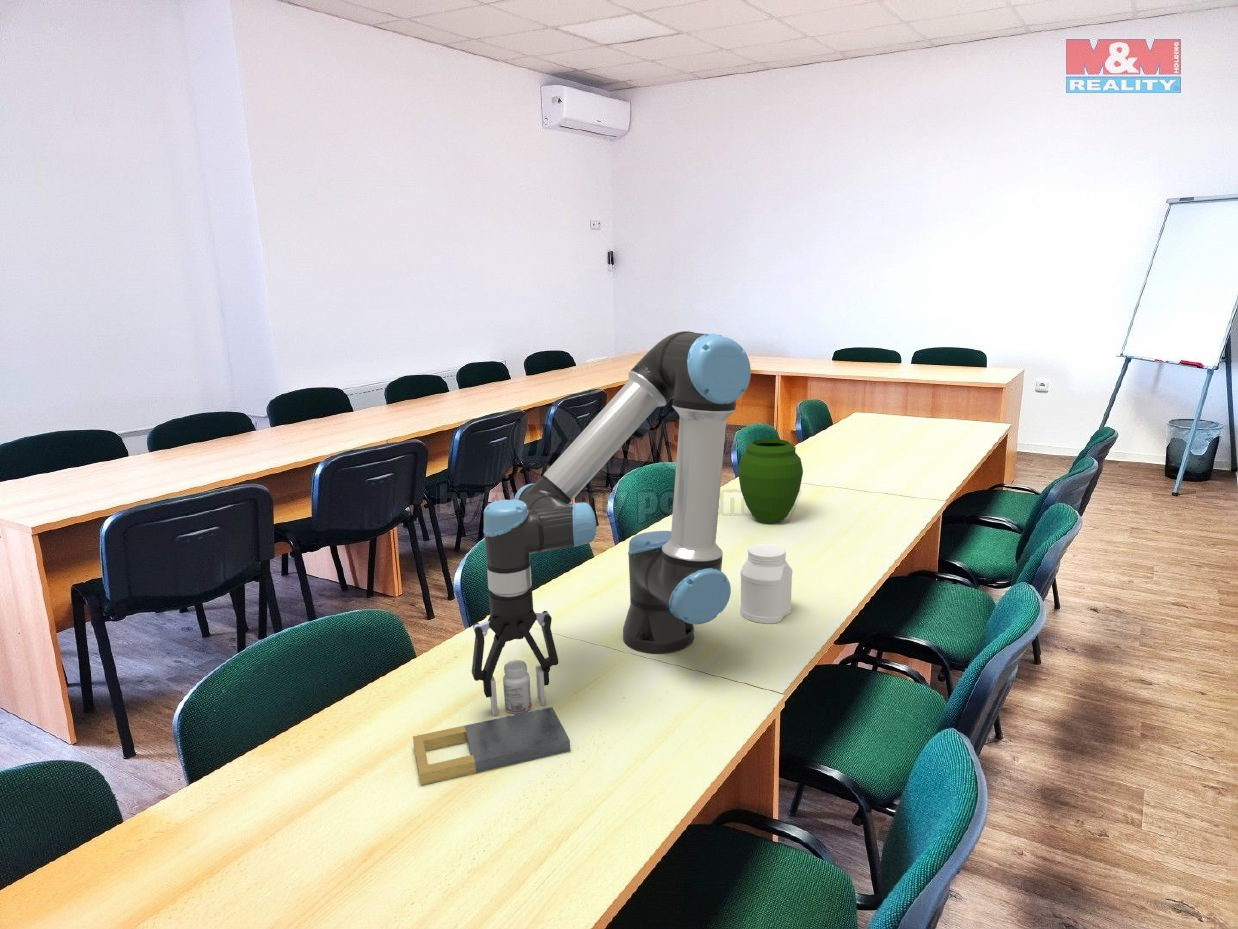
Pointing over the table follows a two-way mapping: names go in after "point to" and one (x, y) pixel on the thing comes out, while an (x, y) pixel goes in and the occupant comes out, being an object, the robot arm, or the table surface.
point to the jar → (766, 584)
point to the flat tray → (492, 744)
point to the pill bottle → (516, 687)
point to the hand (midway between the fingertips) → (518, 706)
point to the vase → (770, 479)
